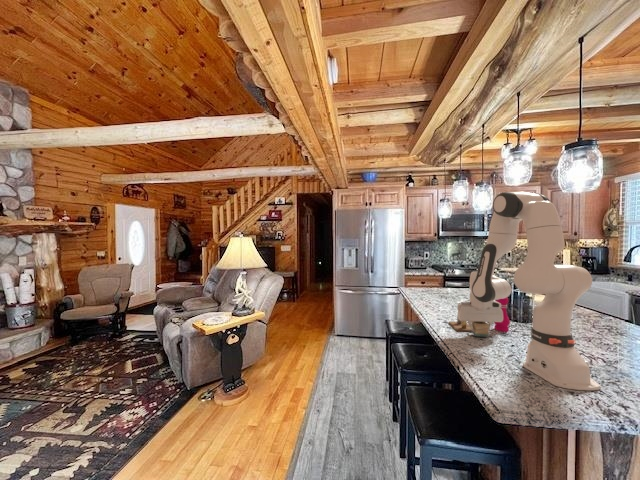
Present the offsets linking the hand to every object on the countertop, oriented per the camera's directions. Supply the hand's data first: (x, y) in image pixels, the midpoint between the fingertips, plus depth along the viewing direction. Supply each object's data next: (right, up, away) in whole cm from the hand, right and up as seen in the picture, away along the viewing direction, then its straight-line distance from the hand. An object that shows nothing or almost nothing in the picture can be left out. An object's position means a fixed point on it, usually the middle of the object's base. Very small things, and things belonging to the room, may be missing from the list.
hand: (479, 330), depth 141 cm
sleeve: (0, -2, 0) cm, 2 cm away
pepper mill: (+17, -3, +9) cm, 19 cm away
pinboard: (-2, -3, +13) cm, 14 cm away
